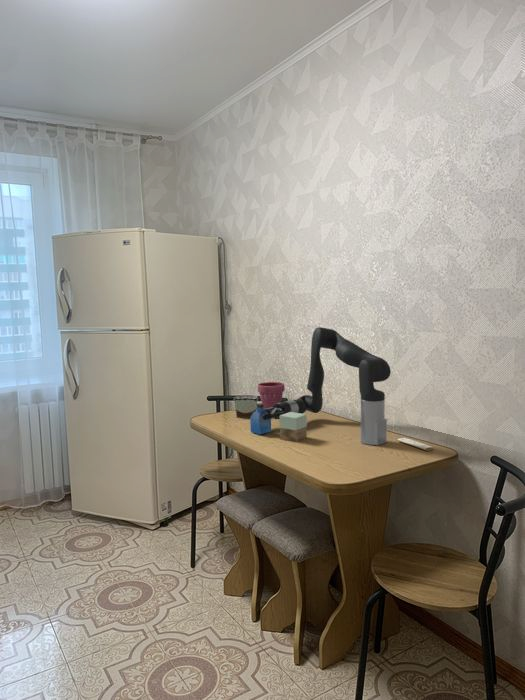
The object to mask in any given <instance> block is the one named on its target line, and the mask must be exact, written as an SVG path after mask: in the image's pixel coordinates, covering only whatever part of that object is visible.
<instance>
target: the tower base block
mask: <svg viewBox="0 0 525 700" xmlns="http://www.w3.org/2000/svg"><path fill="white" fill-rule="evenodd" d="M307 426H308V425H307ZM307 426H306V427H303V428H301V429H298V430H291V429H285V428H280V427H279V440H281V439H282V440H281V441H287V440H289V441H288V442H295V443H299V442H300V441H302V440H304V439H307V435H308V434H307V432H308V431H307V429H308V428H307Z"/></svg>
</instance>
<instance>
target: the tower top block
mask: <svg viewBox="0 0 525 700" xmlns="http://www.w3.org/2000/svg"><path fill="white" fill-rule="evenodd" d="M307 422H308V421H307V413H303V414H301V413H294V412H289V413H286V414H283V415H280V420H279V429H280V428H285V429H291V430H298V429H301V428H303V427H306V426H308V423H307Z"/></svg>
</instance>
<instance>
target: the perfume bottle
mask: <svg viewBox="0 0 525 700" xmlns="http://www.w3.org/2000/svg"><path fill="white" fill-rule="evenodd" d="M256 405H257V407H256V412H253V414H252V416H251V417H250V418H249V419H250V433H254V434H257V435H263V434H268V433H271V432H272V419H267V420H263V415H264V414H268V413H267V412H266V411H264V404H262V402H261V403H257V404H256Z"/></svg>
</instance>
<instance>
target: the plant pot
mask: <svg viewBox="0 0 525 700" xmlns="http://www.w3.org/2000/svg"><path fill="white" fill-rule="evenodd" d="M285 388H286V387H285V383H283V382H279V381H277V382H276V381H267V382H260V383H258V384H257V392H258V393H259V397H260V402H261V403H262V404H264V407H267V408H270V407H274V405H275V404H276V403H280V402H283V401H282V400H283V399H282V398H283V395H284V392H285V390H286V389H285Z"/></svg>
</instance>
